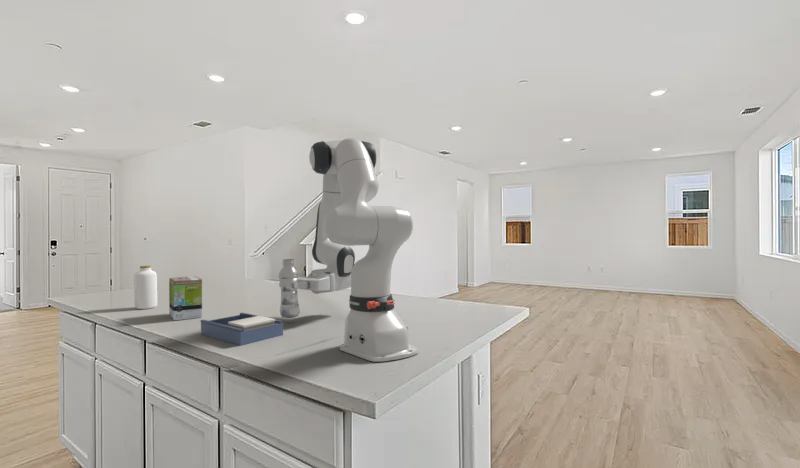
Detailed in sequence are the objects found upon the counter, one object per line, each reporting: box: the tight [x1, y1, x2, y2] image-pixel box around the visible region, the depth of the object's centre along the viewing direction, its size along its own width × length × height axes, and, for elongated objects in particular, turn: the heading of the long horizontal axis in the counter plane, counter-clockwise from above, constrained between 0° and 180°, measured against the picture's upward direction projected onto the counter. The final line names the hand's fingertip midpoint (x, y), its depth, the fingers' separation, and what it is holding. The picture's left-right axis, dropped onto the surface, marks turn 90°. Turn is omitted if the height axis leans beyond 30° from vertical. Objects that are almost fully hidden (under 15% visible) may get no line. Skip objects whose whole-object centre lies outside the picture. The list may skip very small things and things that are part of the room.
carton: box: [228, 315, 276, 331], centre depth 124 cm, size 8×10×5 cm
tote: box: [200, 312, 284, 347], centre depth 127 cm, size 22×14×5 cm, turn 52°
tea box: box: [168, 276, 203, 321], centre depth 160 cm, size 15×10×15 cm, turn 34°
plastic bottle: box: [278, 258, 301, 319], centre depth 142 cm, size 6×7×20 cm
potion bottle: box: [133, 265, 158, 310], centre depth 178 cm, size 8×8×18 cm
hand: (286, 285), depth 142 cm, fingers closed on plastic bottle, 6 cm apart
